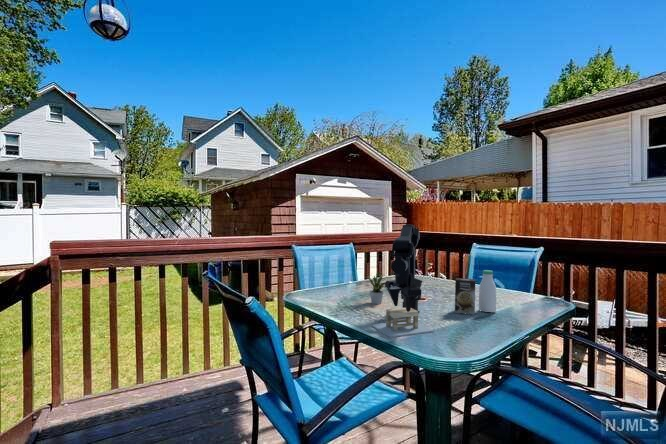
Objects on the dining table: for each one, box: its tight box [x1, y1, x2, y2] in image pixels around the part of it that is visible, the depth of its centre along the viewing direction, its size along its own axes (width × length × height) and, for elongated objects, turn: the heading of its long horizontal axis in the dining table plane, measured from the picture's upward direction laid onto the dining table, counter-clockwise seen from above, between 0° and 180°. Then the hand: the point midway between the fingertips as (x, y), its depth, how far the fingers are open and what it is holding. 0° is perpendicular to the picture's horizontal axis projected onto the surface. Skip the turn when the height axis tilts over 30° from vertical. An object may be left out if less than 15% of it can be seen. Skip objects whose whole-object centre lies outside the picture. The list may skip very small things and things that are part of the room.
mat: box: [371, 319, 435, 339], centre depth 139 cm, size 20×15×1 cm
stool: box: [385, 307, 419, 331], centre depth 139 cm, size 6×11×7 cm, turn 111°
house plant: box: [364, 273, 388, 305], centre depth 180 cm, size 14×14×16 cm
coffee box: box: [454, 277, 476, 315], centre depth 164 cm, size 9×6×16 cm
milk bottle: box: [478, 269, 497, 313], centre depth 166 cm, size 8×8×20 cm
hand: (402, 308), depth 139 cm, fingers open, 9 cm apart
